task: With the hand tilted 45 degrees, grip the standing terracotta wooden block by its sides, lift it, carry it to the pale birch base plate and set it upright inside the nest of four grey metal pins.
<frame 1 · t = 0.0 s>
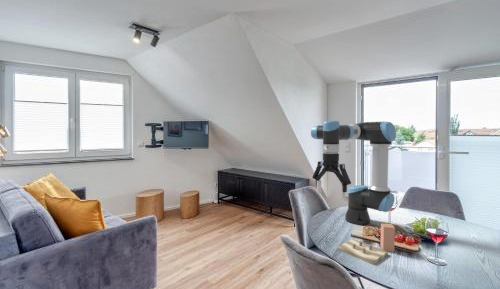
hand: (330, 195, 123), 28 cm above the table, tool pointing down, fingers open, 13 cm apart
base plate: (362, 251, 123), on the table
block: (387, 248, 126), on the table
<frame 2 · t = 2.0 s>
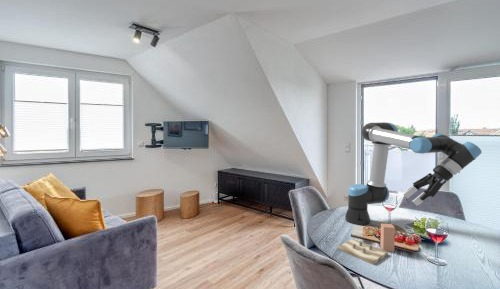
hand: (409, 199, 122), 26 cm above the table, tool tilted 45°, fingers open, 13 cm apart
nothing on the table moved.
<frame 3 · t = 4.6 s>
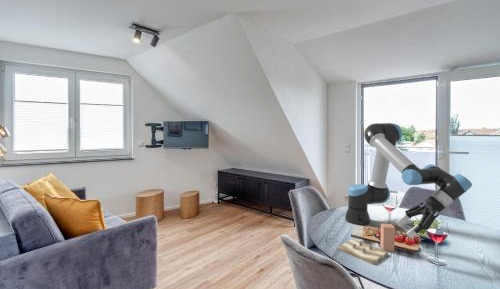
hand: (402, 230, 123), 11 cm above the table, tool tilted 45°, fingers open, 13 cm apart
nothing on the table moved.
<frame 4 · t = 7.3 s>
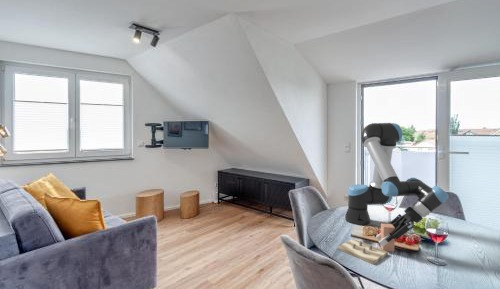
hand: (379, 241, 127), 3 cm above the table, tool tilted 45°, fingers closed on block, 5 cm apart
block: (387, 248, 126), on the table, touching gripper
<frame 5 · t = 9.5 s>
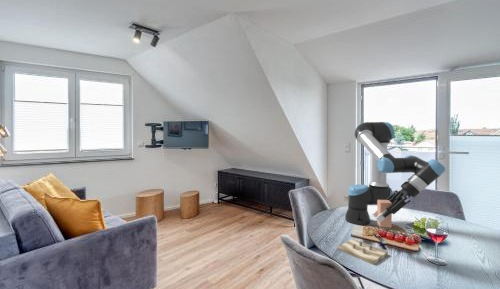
hand: (376, 218, 124), 16 cm above the table, tool tilted 45°, fingers closed on block, 5 cm apart
block: (384, 225, 124), point 13 cm above the table, touching gripper
when the fingers open (7 cm above the table, at t = 12.1 s): block drops 2 cm, resting on base plate.
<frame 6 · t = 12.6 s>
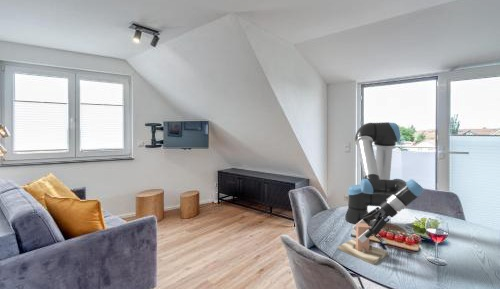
hand: (357, 234, 123), 9 cm above the table, tool tilted 45°, fingers open, 12 cm apart
block: (362, 249, 123), point 1 cm above the table, touching base plate
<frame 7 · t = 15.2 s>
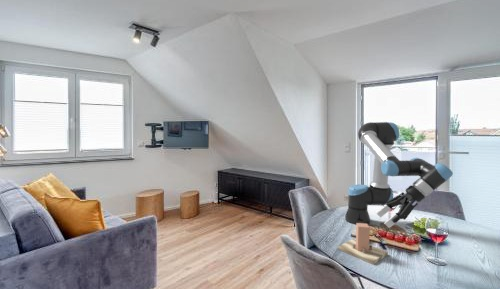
hand: (382, 220, 120), 17 cm above the table, tool tilted 45°, fingers open, 13 cm apart
nothing on the table moved.
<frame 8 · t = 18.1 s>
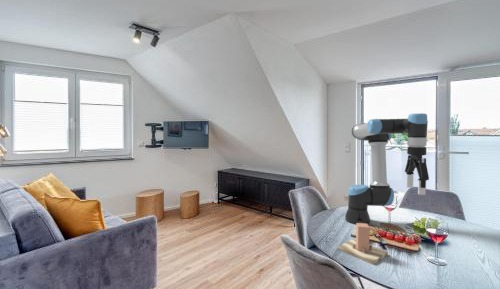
hand: (415, 190, 119), 31 cm above the table, tool pointing down, fingers open, 13 cm apart
nothing on the table moved.
at the end: block 0.1 cm off-centre on the base plate, point 1.5 cm above the base plate's base; block tilted 0°; the gripper is holding nothing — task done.
